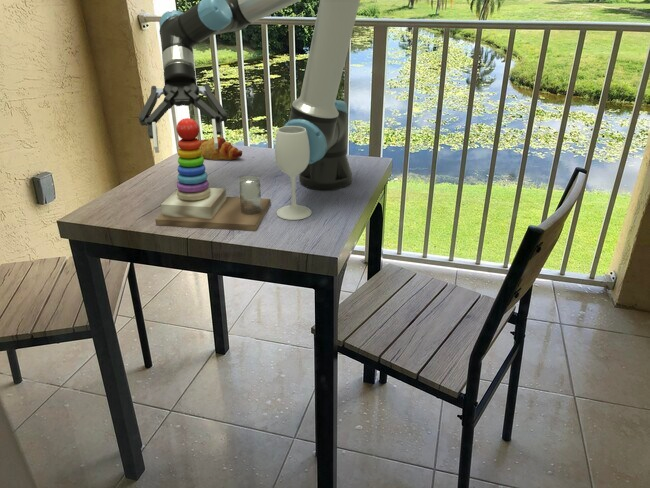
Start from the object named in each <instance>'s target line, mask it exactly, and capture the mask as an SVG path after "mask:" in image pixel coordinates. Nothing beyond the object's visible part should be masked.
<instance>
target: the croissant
mask: <svg viewBox="0 0 650 488" xmlns="http://www.w3.org/2000/svg"><path fill="white" fill-rule="evenodd" d="M199 141H200V147H199V148H200V149H201V151H202V154H201V156H202V157H203V158H204V159H206V160H213V161H217V160H219V161H220V160H224V161H226V160H227V161H231V160H236V159H238V158H241V157H242V156H243V150H239V148H237V147H236V146H233V145H232V143H231V142H229V141H227V140H226V139H225V138H224V137H220V136H217V141H218V149H215V145H214V137H211V138H209V139H201V140H199Z"/></svg>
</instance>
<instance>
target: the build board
mask: <svg viewBox="0 0 650 488" xmlns="http://www.w3.org/2000/svg"><path fill="white" fill-rule="evenodd" d="M209 188H210V190H211V193H210V195H209V196H208V197H206V198H204V199H201V200H195V201H189V200H183V199H181V198H179V197H178V196H177V190H178V188H177V189H175V190H174V191H173V192H172V193H171V194H170V196H168V197H167V198H166V199H165V200H164V201H163V202H162V203H161V204H160V208H161V213H160V214H159V215H158V216H157V217H156V218H155V226H166V227H181V228H184V227H185V228H201V229H219V230H233V231H234V230H235V231H251V232H253V231H254V232H257V230H258V228H259V226H260V224H261V223H262V221H263V219H264V217H265V215H266V213H267V211H268V210H269V207H270V206H271V205H272V203H271V198H263V197H261V209H262V211H261V212H260V213H258V214H253V215H247V214H243V213H242V212H241V206H240V196H239V197H238V196H227V190H226V188H220V187H209Z"/></svg>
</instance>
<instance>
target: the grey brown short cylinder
mask: <svg viewBox="0 0 650 488" xmlns="http://www.w3.org/2000/svg"><path fill="white" fill-rule="evenodd" d="M238 192H239V193H238V194H239V197H240V206H241V212H242V213H243V214H247V215H253V214H258V213H260V212H261V211H262V209H261V198H262V196H261V195H262V194H261V179H260V177H258V176H255V175H245V176H241V177H240V178H238Z"/></svg>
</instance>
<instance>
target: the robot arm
mask: <svg viewBox="0 0 650 488" xmlns="http://www.w3.org/2000/svg"><path fill="white" fill-rule="evenodd" d="M301 1H302V0H200V1H199V2H197V3H196V4H195V5H193V6H191V7H190V8H189V9H187V10H186V11H185V12H183V11H180V10H171V11H166V12H164V13H163V14H162V15H161V17H160V20H159V36H160V37H159V38H160V44H161V45H160V46H161V58H162V68H163V81H164V82H163V83H164V86H163V88H162V87H161V88H160V87H159V88H158V87H157V86H156V85H152V86H151V87H150V95H149V96H148V98H147V100H146V103H145V104H144V106H143V108H142V110H141V112H140V114H139V116H138V121H139V124H140V126H142V127H143V126H146V127H147V134H148V138H149V139H153V140H152V141H153V149H154V152H155V153H156V154H157V153H160V150H159V135H158V127H157V123H158V122H159V120H161V119H162V118H163V116H164V115H165V114H166V113H167V112H168V111H169V110H170V109H172V108H173V106H176V107H181V106H187V107H190V105H192V106H194V107H195V108H197V109H198V110H200V112H202V113H203V114H204V115H205V116H206V117H208V118H209V119H210V120H211V125H212V133H213V135H212V136H213V138H214V145H215V149H218V141H217V137H218V136H219V135H221V134H222V126H221V123H222V122H227V120H228V113H227V111H226V110H225V108H224V107H223V106H222V104H221V103H220V101H219V100H218V99H217V97H216V96H215V95H214V93H213V92H212V89H211V86H210V85H211V84H209V83H205V84H204V86H198V85H197V77H196V76H197V74H196V67H195V58H194V47H196V45H199V44H200V43H202V42H203V41H205V40H207V39H209V38H210V37H212V36H215V35H221V34H225V33H226V34H227V33H230V32H239V31H242V30H244V29H246V28H247V27H248V26H249V25H251V24H252V23H255V22H257V21H259V20H261V19H263V18H265V17H268V16H270V15H272V14H275V13H276V12H279V11H281V10H283V9H285V8H287V7H290V6H291V5H294V4H296V3H299V2H301ZM360 3H361V0H319V4H318V8H317V13H316V18H315V24H314V26H313V33H312V37H311V43H310V48H309V52H308V56H307V57H308V58H307V62H306V65H305V66H306V67H305V71H304V76H303V80H302V81H303V82H302V86H301V91H300V96H299V97H298V98H297V99H294V100H293V101H292V103H291V108H290V113H289V118H288V121H287V122H285V123H284V126H283V127H285V126H299V127H303V128H305V129H306V131H307V135H308V140H309V147H310V157H309V163H308V165H307V167H306V169H305V170H304V171H303V172H301V173H300V174H298V176H299V177H298V178H299V179H298V181H299V184H300V185H302V186H303V187H305V188H309V189H313V190H319V191H320V190H321V191H322V190H323V191H328V190H329V191H331V190H340V189H343V188H345V187H348V186H350V185H352V179H353V177H352V176H353V175H352V174H353V172H352V170H351V167H350V163H349V161H348V157H347V143H348V142H347V139H348V138H347V137H348V133H347V132H348V115H349V112H348V105H347V103H346V102H345V101H343V100H339V99H337V96H338V92H339V88H340V84H341V80H342V75H343V72H344V68H345V63H346V59H347V56H348V52H349V47H350V43H351V41H352V40H351V39H352V36H353V31H354V29H355V28H354V27H355V23H356V18H357V15H358V11H359V7H360ZM200 94H202V95H203V96H204V97H206V99H207V101H208V102H209V104H210V105H211V106H209V105H208V104H207V103H205V101H203V100H202V98H200V96H199V95H200ZM161 96H164V98H163V100H162V102H161V103H160V104H159V105H158V106H157V107H156V104H157V102H158V99H160V97H161ZM155 107H156V108H155ZM211 107H212V108H211ZM154 108H155V110H154ZM153 110H154V111H153Z"/></svg>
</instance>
